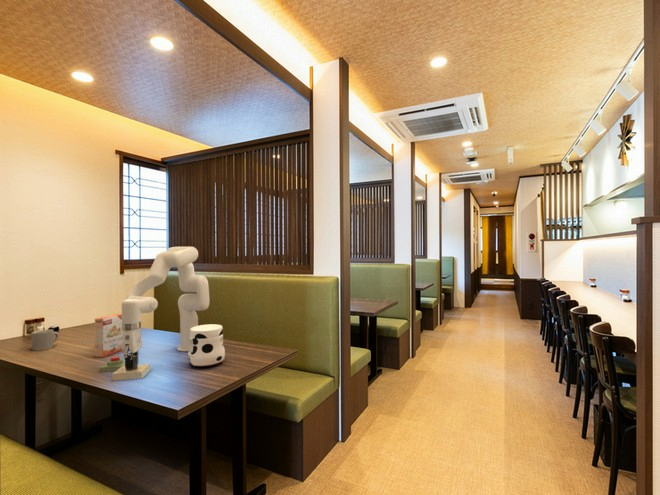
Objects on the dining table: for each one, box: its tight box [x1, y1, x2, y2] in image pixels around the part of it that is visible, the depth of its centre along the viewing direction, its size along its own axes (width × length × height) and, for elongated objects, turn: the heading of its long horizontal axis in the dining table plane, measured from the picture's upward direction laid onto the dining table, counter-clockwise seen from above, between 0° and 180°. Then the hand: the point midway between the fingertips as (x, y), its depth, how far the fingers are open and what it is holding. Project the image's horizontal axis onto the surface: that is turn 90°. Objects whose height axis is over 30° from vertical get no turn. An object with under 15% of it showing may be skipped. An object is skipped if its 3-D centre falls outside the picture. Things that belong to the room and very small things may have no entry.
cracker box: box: [94, 313, 123, 358], centre depth 188 cm, size 14×6×21 cm, turn 168°
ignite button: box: [110, 355, 120, 362], centre depth 163 cm, size 4×4×2 cm
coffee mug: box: [31, 329, 60, 352], centre depth 202 cm, size 13×10×10 cm
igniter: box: [99, 357, 125, 373], centre depth 163 cm, size 10×8×4 cm
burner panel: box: [111, 363, 151, 381], centre depth 154 cm, size 12×10×3 cm
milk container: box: [187, 323, 226, 368], centre depth 168 cm, size 17×17×18 cm
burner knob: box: [126, 354, 139, 371], centre depth 154 cm, size 5×5×6 cm
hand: (131, 366), depth 154 cm, fingers closed on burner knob, 4 cm apart
